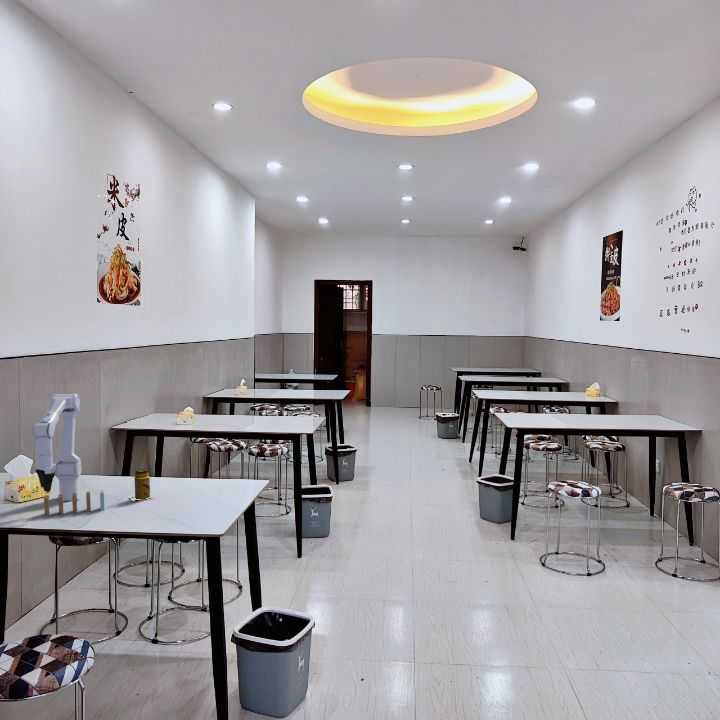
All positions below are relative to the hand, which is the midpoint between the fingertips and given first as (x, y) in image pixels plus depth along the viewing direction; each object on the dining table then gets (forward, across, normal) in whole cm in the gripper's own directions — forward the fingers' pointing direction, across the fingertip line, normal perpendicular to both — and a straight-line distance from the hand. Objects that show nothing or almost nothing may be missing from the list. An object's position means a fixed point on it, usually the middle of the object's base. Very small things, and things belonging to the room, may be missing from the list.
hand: (45, 489), depth 272 cm
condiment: (+10, +3, -37) cm, 38 cm away
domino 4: (+10, -3, -15) cm, 18 cm away
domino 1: (+10, 0, 0) cm, 10 cm away
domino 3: (+10, -2, -10) cm, 14 cm away
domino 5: (+10, -4, -20) cm, 22 cm away
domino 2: (+10, -1, -5) cm, 11 cm away
